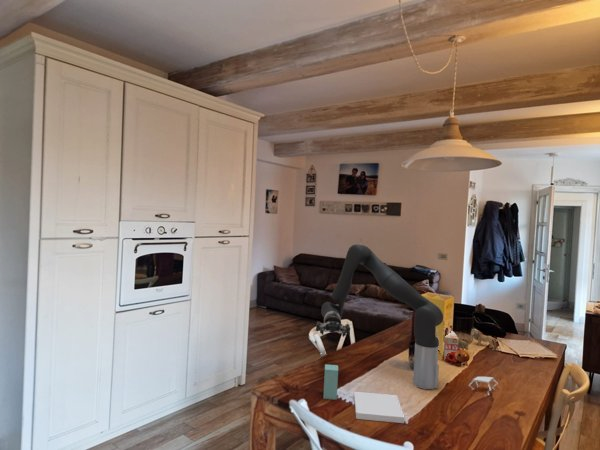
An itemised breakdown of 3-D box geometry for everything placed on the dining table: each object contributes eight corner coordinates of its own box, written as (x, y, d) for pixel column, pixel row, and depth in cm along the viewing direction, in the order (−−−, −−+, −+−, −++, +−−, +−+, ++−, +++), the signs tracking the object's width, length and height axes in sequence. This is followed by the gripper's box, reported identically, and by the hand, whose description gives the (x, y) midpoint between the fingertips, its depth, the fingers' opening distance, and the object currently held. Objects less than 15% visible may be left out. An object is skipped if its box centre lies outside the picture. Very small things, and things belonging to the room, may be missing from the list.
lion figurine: (469, 344, 215) (470, 328, 215) (471, 342, 219) (472, 327, 219) (497, 351, 206) (498, 335, 206) (500, 349, 210) (501, 332, 210)
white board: (396, 400, 144) (396, 395, 144) (404, 423, 128) (404, 417, 128) (353, 396, 146) (354, 391, 146) (356, 418, 130) (356, 413, 130)
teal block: (336, 393, 148) (338, 365, 147) (336, 399, 143) (338, 370, 143) (323, 392, 148) (325, 364, 148) (323, 398, 143) (324, 369, 143)
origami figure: (486, 398, 150) (486, 385, 150) (467, 389, 157) (467, 377, 157) (503, 392, 156) (504, 380, 156) (484, 383, 164) (485, 372, 163)
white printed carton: (435, 347, 208) (437, 324, 208) (447, 348, 207) (449, 325, 207) (444, 361, 187) (445, 336, 187) (457, 363, 186) (458, 338, 186)
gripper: (317, 311, 172) (316, 322, 156) (349, 314, 171) (351, 326, 155) (316, 328, 172) (315, 340, 156) (347, 331, 171) (350, 344, 155)
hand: (333, 333), depth 155 cm, fingers open, 8 cm apart
